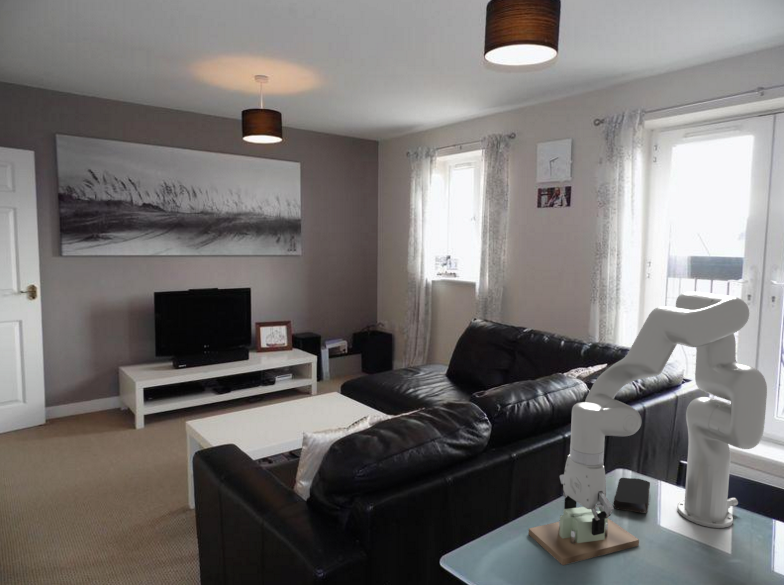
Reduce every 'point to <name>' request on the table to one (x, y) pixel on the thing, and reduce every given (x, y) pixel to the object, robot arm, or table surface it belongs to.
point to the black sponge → (632, 495)
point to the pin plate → (573, 551)
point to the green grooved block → (579, 525)
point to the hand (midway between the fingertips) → (583, 523)
